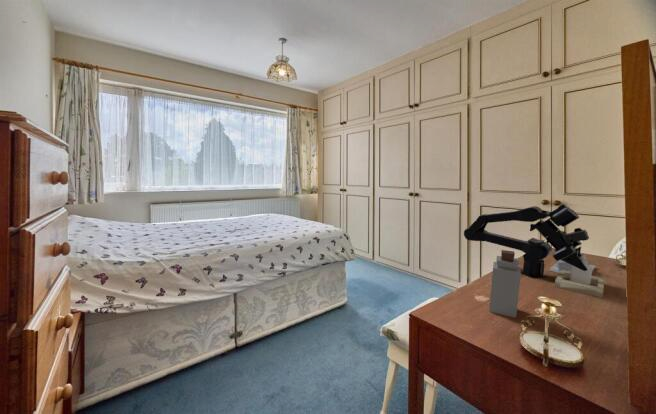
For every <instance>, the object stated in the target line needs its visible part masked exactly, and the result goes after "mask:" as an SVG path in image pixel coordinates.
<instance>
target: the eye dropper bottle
mask: <svg viewBox="0 0 656 414" xmlns="http://www.w3.org/2000/svg"><path fill="white" fill-rule="evenodd" d="M581 255H582V256H580V257H579V258H580V260H581V261H582V262H583V264H584V265H585V266H586V268H587V270H586V271H583V270H581V269H579V268H577V267H575V266H573V265H572V268H571V275H570V280H569V281H574V282H579V283H583V284H588V285H591V284H590V282H591V275H592V274H593V272H592V267H591V266H590V265H591V264H590V265H588V264H587V262H588V257H586V253H581ZM592 276H593V275H592Z"/></svg>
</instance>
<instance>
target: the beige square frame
mask: <svg viewBox="0 0 656 414" xmlns="http://www.w3.org/2000/svg"><path fill="white" fill-rule="evenodd" d="M570 275H571V271H566V270H561V271H560V272H559V273H558V275H557V276H556V278H555V281H554V287H556V288H560V289H564V290H567V291H572V292H577V293H580V294H585V295H589V296H594V297H597V298H603V295H604V289H605V287H604V286H605V277H602V276H601V277H600V276H597V275H596V276H595V275H591V282H590V285H588V284H583V283H579V282H574V281H570Z"/></svg>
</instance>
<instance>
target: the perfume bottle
mask: <svg viewBox="0 0 656 414" xmlns="http://www.w3.org/2000/svg"><path fill="white" fill-rule="evenodd" d="M500 253H501V255H496V258H495V259H496V261H493V264H492V273H491V274H492V276H491V288H490V299H489V307H488V312H489V313H491V314H492V313H493V314H495V315H496V314H497V315H502V316H506V317H511V318H513V319H514V318H515V319H516V318H517V313H518V304H519V295H520V293H519V292H520V287H521V286H520V284H521V274H522V273H521V271H522V270H521V266H520V265H519V258H517V257H516V258H515V251H513V250H506V249H501V252H500Z"/></svg>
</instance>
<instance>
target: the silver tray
mask: <svg viewBox="0 0 656 414" xmlns="http://www.w3.org/2000/svg"><path fill="white" fill-rule="evenodd" d="M587 264H588V265H590V266H591V267H592V273H593V271H594V270H595V268H596V265H593V264H591V262H588V261H587ZM571 268H572V265H571V264H569V263H566V262H564V261H561V260H559V261H556V260H555V263H554V264H553V265H552V266H550V267H549V271H550V272H554V273H558V274H559V272H560V271H561V270H566V271H571Z"/></svg>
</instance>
